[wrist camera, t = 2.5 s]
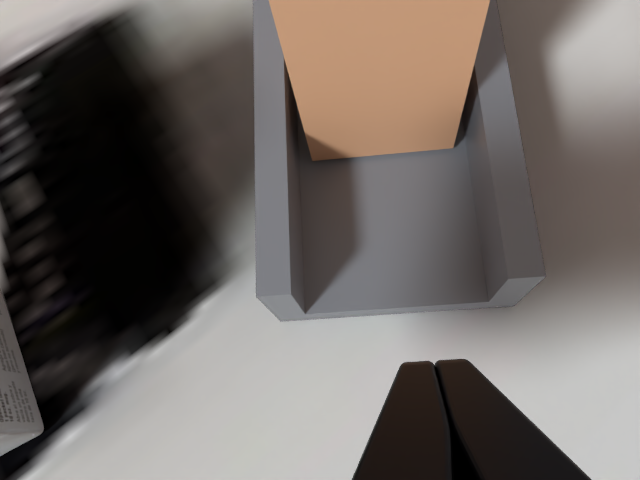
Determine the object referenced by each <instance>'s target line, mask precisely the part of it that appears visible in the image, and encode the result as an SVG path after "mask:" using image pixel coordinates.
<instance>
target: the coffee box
mask: <svg viewBox="0 0 640 480" xmlns="http://www.w3.org/2000/svg"><path fill="white" fill-rule="evenodd" d="M43 430H44V426H43V422H42V419H41V416H40V413H39V409H38V406H37V402H36V399H35V396H34V393H33V390H32V386H31V383H30V380H29V377H28V373H27V370H26V367H25V364H24V360H23V357H22V354H21V351H20V348H19V345H18V342H17V338H16V335H15V332H14V328H13V325H12V322H11V319H10V316H9V313H8V309H7V306H6V303H5V300H4V297H3V294H2V292H1V290H0V456H1V455H3V454H5V453H7V452H8V451H10V450H12V449H14V448H16V447H18V446H20V445H21V444H23V443H25V442H27V441H29V440H31V439H33V438H35V437H37V436H38V435H40V434H41V433H42V432H43Z"/></svg>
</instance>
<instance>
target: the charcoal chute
mask: <svg viewBox="0 0 640 480" xmlns="http://www.w3.org/2000/svg"><path fill="white" fill-rule="evenodd" d="M253 45H254V142H255V238H256V297H257V298H258V299H259V300H260V301H261V302H262V303H263V304H264V305H265V306H266V307H267V308H268V309H269V310H270V311H271V312H272V313H273V314H274V315H275V316H276V317H277V318H278V319H279V320H280V321H295V320H310V319H325V318H340V317H355V316H370V315H385V314H401V313H416V312H431V311H446V310H461V309H476V308H491V307H506V306H514V305H516V304H517V303H518V302H519V301H520V300H521V299H522V298H523V297H524V296H525V295H526V294H527V293H529V292H530V291H531V290H532V289H533V288H534V287H535V286H536V285H537V284H538V283H539V282H540V281H542V280H543V279H544V278H545V277H546V273H545V268H544V262H543V257H542V251H541V246H540V240H539V235H538V229H537V223H536V218H535V212H534V207H533V201H532V196H531V190H530V185H529V179H528V174H527V168H526V162H525V157H524V151H523V146H522V140H521V135H520V129H519V124H518V118H517V113H516V107H515V101H514V96H513V90H512V85H511V79H510V74H509V68H508V63H507V57H506V52H505V46H504V40H503V35H502V29H501V24H500V18H499V13H498V7H497V2H496V0H490V3H489V7H488V11H487V15H486V19H485V23H484V27H483V31H482V35H481V39H480V43H479V47H478V51H477V55H476V59H475V63H474V67H473V71H472V75H471V79H470V83H469V87H468V91H467V95H466V99H465V103H464V107H463V111H462V115H461V119H460V123H459V127H458V131H457V135H456V139H455V143H454V147H453V148H450V149H439V150H428V151H417V152H406V153H395V154H384V155H373V156H362V157H351V158H340V159H329V160H318V161H312V158H311V154H310V151H309V147H308V143H307V140H306V136H305V132H304V129H303V125H302V121H301V118H300V114H299V110H298V107H297V103H296V99H295V96H294V92H293V88H292V84H291V81H290V77H289V73H288V70H287V66H286V62H285V59H284V55H283V51H282V48H281V44H280V40H279V37H278V33H277V29H276V26H275V22H274V18H273V15H272V11H271V7H270V4H269V0H253Z"/></svg>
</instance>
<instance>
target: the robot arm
mask: <svg viewBox="0 0 640 480" xmlns="http://www.w3.org/2000/svg"><path fill="white" fill-rule="evenodd" d="M352 480H591V479H590V478H589V477H588V476H587V475H586V474H585V473H584V472H583V471H582V470H581V469H580V468H579V467H578V466H577V465H576V464H575V463H574V462H573V461H572V460H571V459H570V458H569V457H568V456H567V455H566V454H565V453H564V452H563V451H561V450H560V449H559V448H558V447H557V446H556V445H555V444H554V443H553V442H552V441H551V440H550V439H549V438H548V437H547V436H546V435H545V434H544V433H543V432H542V431H541V430H540V429H539V428H538V427H537V426H536V425H535V424H534V423H533V422H532V421H530V420H529V419H528V418H527V417H526V416H525V415H524V414H523V413H522V412H521V411H520V410H519V409H518V408H517V407H516V406H515V405H514V404H513V403H512V402H511V401H510V400H509V399H508V398H507V397H506V396H505V395H504V394H503V393H502V392H501V391H499V390H498V389H497V388H496V387H495V386H494V385H493V384H492V383H491V382H490V381H489V380H488V379H487V378H486V377H485V376H484V375H483V374H482V373H481V372H480V371H479V370H478V369H477V368H476V367H475V366H474V365H473V364H472V363H471V362H469V361H468V360H466V359H453V360H439V361H437V362H436V363H435V366H434V364H433V363H432V362H430V361H419V362H405V363H403V364H402V365H401V366H400V368H399V370H398V372H397V374H396V377H395V379H394V381H393V384H392V386H391V389H390V391H389V393H388V396H387V398H386V400H385V403H384V405H383V407H382V410H381V412H380V414H379V417H378V419H377V421H376V424H375V426H374V429H373V431H372V433H371V436H370V438H369V440H368V443H367V445H366V447H365V450H364V452H363V454H362V457H361V459H360V461H359V464H358V466H357V469H356V471H355V473H354V476H353V478H352Z"/></svg>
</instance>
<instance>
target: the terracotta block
mask: <svg viewBox="0 0 640 480" xmlns="http://www.w3.org/2000/svg"><path fill="white" fill-rule="evenodd" d="M489 3H490V0H269V4H270V7H271V11H272V15H273V18H274V22H275V26H276V29H277V33H278V37H279V40H280V44H281V48H282V51H283V55H284V59H285V62H286V66H287V70H288V73H289V77H290V81H291V84H292V88H293V92H294V96H295V99H296V103H297V107H298V110H299V114H300V118H301V121H302V125H303V129H304V132H305V136H306V140H307V143H308V147H309V151H310V154H311V158H312V161H318V160H329V159H340V158H351V157H362V156H373V155H384V154H395V153H406V152H417V151H428V150H439V149H450V148H453V147H454V143H455V139H456V135H457V131H458V127H459V123H460V119H461V115H462V111H463V107H464V103H465V99H466V95H467V91H468V87H469V83H470V79H471V75H472V71H473V67H474V63H475V59H476V55H477V51H478V47H479V43H480V39H481V35H482V31H483V27H484V23H485V19H486V15H487V11H488V7H489Z"/></svg>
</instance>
